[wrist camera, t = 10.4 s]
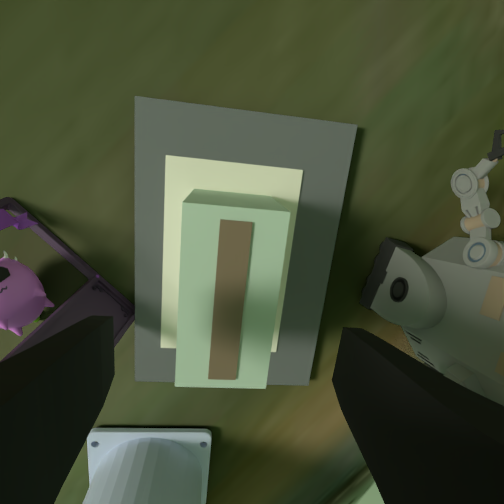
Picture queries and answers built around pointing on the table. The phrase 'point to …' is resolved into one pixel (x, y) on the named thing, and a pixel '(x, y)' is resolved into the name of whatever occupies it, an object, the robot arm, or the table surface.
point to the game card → (34, 298)
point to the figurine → (451, 290)
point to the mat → (238, 181)
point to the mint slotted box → (228, 288)
